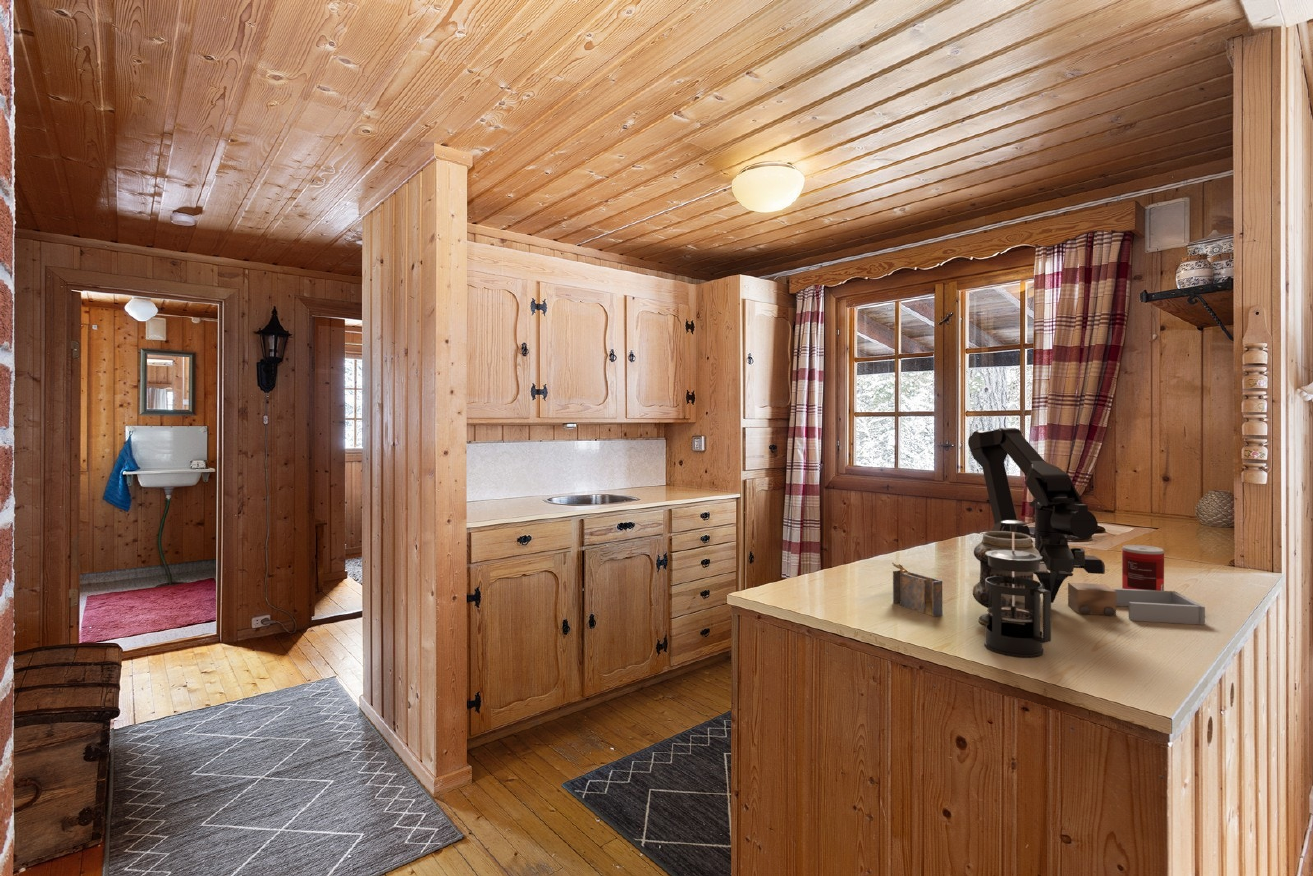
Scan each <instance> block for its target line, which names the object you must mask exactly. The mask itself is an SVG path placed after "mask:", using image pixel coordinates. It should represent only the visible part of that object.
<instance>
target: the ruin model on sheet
mask: <svg viewBox="0 0 1313 876" xmlns="http://www.w3.org/2000/svg"><path fill="white" fill-rule="evenodd" d="M891 564H892V565H893V566H892V567H895V568H897V570H893V571H892V603H893V604H897V603H900V606H901V607H903V608H908V609H910V610H913V609H914V611H916V612H919V613H922V614H924V615H927V614H928V615H927V616H930V617H933V618H934V617H937V616H943V580H941V579H938V578H934V577H931V576H925V575H923V574H919V573H914V572H911V571H908V570H907V569H906V568H904V566H903V565H902V564H901V563H898V564H897V563H894V562H892V563H891Z"/></svg>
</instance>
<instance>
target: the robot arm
mask: <svg viewBox="0 0 1313 876" xmlns="http://www.w3.org/2000/svg"><path fill="white" fill-rule="evenodd" d="M967 444H968V448H969V450H970V453H971V455H972V458H973V460H974V461H976V463H978V464H979V466H981V469H982V472H983V476H984V482H985V485H986V489H987V490H986V491H987V494H988V496H987V497H988V499H989V505H990V508H991V512H992V518H993V523H994V524H993V527H992V529H991V531H1008V532H1010V525H1006V524H1001V523H1000V522H1001V521H1004V520H1017V521H1019V520H1018V516H1017V513H1016V508H1015V503H1014V501H1013V496H1012V491H1011V487H1010V483H1009V479H1008V478H1009V477H1008V474H1007V471H1006V470H1007V469H1006V466H1005V461H1006V459H1007V456H1009V457H1010V458H1011V460H1012V461H1013V462H1014V463H1015V464H1016V465H1017V467H1018V468H1019V469H1020V471H1022V472H1023V475H1024V476H1025V483H1024V485H1025V486H1026V488H1027V489H1028V491H1029V492H1030V495H1032V497H1033V498H1034V499H1033V500H1032V501H1031V502H1030V503H1029V507H1031V508H1034V534H1033V537H1034V540H1033V539H1032V537H1031V532H1030V530H1031V529H1030V528H1029V526H1028V525H1027V524H1026V525H1016V533H1022V534H1026V535H1029V536H1030V537H1031V543H1032V546H1033V547H1035V548H1036V549H1037V550H1038V551H1039V553H1040V555H1041V556H1042V560H1041V561H1040V562H1039V570H1038V571H1034V572H1033V575H1036V577H1037V579H1038V582H1040V583H1041V584H1042V589H1045V590H1049V591H1050V592H1051V604H1053V603H1054V601H1055V599H1056V597H1057V595H1058V592H1059V591H1060V587H1061V586H1062V584H1063V582H1064V581H1065V580H1066V579H1067V578H1069V577H1073V576H1074V573H1073V572H1074V571H1075V570H1074V569H1083V570H1084V571H1085V572H1086V573H1088V574H1097V575H1100V574H1101V575H1105V574H1106V571H1105V570H1106V565H1105V562H1104V561H1103V560H1102V559H1100V558H1099V557H1097V556H1096V555H1090V554H1086V553H1085V549H1084V548H1083V547H1072V548H1070V546H1069V541H1068V537H1067V536H1070V537H1074V538H1078V539H1082V540H1085V539H1090V538H1092V536H1094V535H1095V533H1096V532H1097V530H1098V524H1099V523H1098V520H1097V518H1096V517H1095V515H1094V513H1092V512H1091V511H1089V510H1088V508H1089V507H1088V506H1089V505H1088V504H1084V503H1083V502H1082V498H1081V497H1082V496H1081V495H1080V494H1079V492H1078V490H1077V489H1076V487H1075V484H1074V482H1073V481H1072V478H1071V476H1070V475H1069V474H1068V473H1067V472H1065V471H1064V470H1063V469H1062V468H1060V467H1059V466H1056V465H1054V464H1051V463H1048V462H1047V461H1046V460H1045V459H1044V458H1043V457H1042V456H1041V455H1040V454H1039V452H1038V451H1036V449H1035V448H1034V447H1033V446H1032V445H1031V444H1030V443H1029V442H1028V440H1027V439H1026V438H1025V437H1024V436H1023V434H1022V431H1021V429H1019V428H1016V427H999V428H996V429H993V430H975V431H973V432H972V434H971V435H970V436H969V438H968V441H967ZM1033 543H1034V544H1033ZM1085 554H1086V555H1085Z"/></svg>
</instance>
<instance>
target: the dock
mask: <svg viewBox="0 0 1313 876" xmlns="http://www.w3.org/2000/svg"><path fill="white" fill-rule="evenodd" d="M1111 588H1112V589H1113V590H1115V591H1116V607H1117V606H1120V607H1128V620H1129V621H1132V622H1134V621H1138V622H1150V623H1151V622H1152V623H1153V622H1154V623H1168V624H1169V623H1170V624H1183V625H1184V624H1185V625H1186V624H1187V625H1199V626H1201V625H1203V626H1206V606H1204V605H1202V604H1200V603H1198V602H1196V601H1194V600H1192V599H1191V598H1189V597H1186V596H1185V595H1183V594H1181V593H1179V592H1178V591H1174V590H1173V591H1172V590H1164V591H1158V590H1137V589H1122V588H1116V587H1115V588H1114V587H1111Z"/></svg>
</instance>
